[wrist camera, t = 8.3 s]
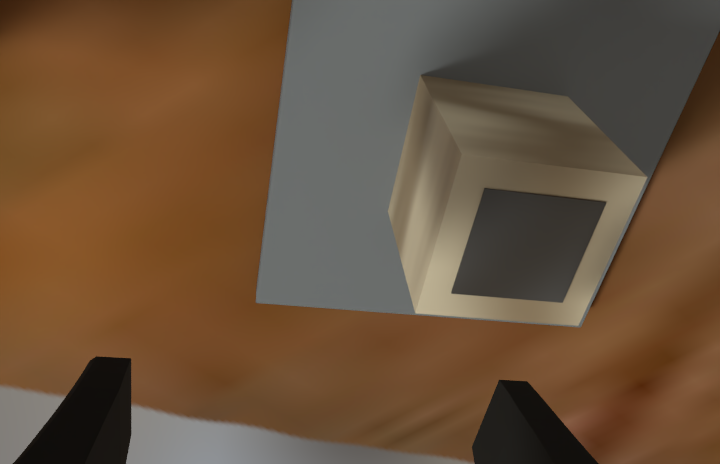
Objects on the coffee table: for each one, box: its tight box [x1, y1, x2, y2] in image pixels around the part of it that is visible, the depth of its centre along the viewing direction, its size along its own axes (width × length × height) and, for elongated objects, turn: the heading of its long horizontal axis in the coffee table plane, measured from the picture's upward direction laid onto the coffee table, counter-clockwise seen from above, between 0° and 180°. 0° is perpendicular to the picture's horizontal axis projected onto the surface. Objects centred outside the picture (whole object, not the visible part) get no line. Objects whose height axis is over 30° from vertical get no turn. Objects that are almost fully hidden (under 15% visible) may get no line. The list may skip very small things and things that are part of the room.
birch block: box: [388, 75, 647, 326], centre depth 18 cm, size 4×4×5 cm
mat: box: [256, 0, 720, 327], centre depth 21 cm, size 12×12×1 cm
